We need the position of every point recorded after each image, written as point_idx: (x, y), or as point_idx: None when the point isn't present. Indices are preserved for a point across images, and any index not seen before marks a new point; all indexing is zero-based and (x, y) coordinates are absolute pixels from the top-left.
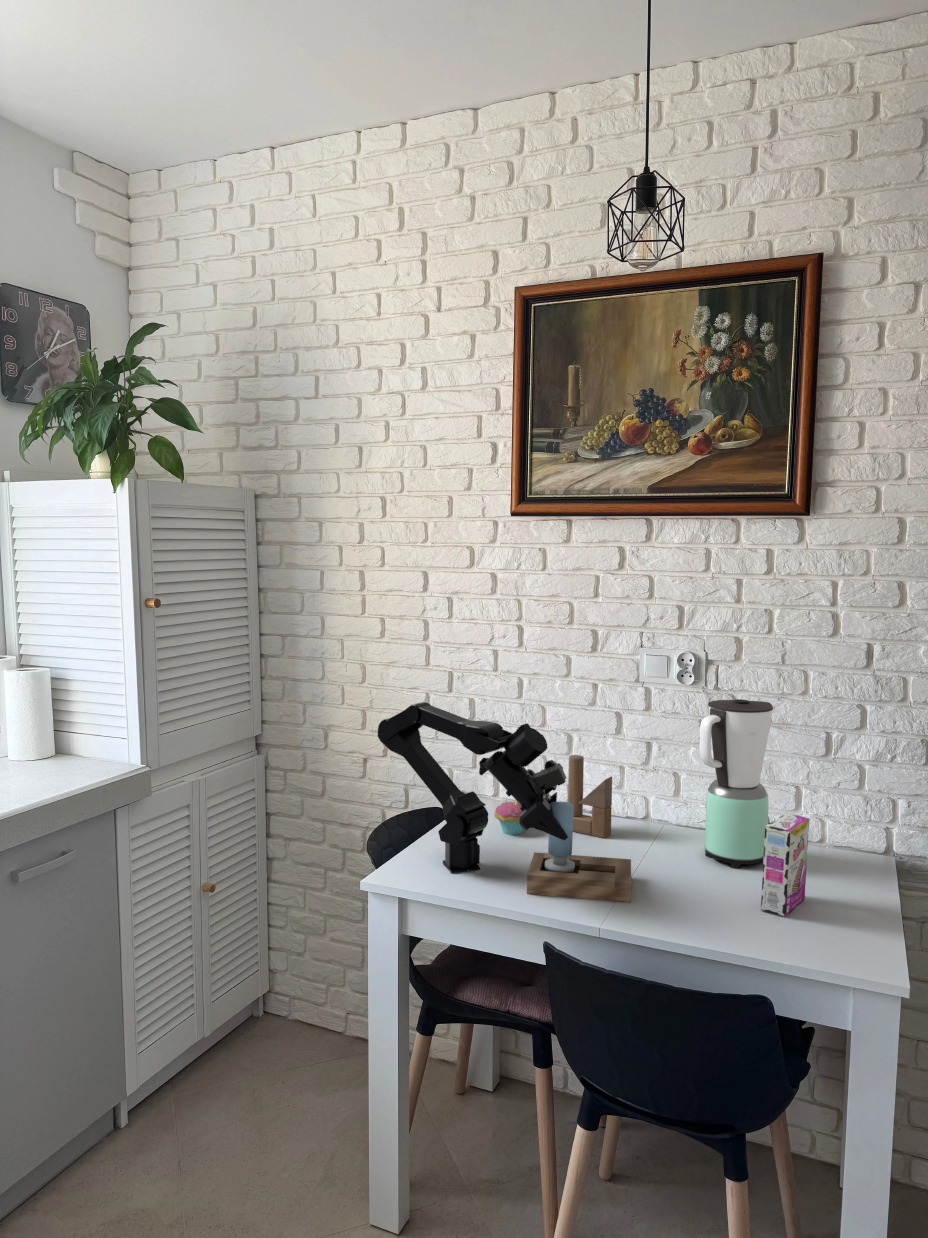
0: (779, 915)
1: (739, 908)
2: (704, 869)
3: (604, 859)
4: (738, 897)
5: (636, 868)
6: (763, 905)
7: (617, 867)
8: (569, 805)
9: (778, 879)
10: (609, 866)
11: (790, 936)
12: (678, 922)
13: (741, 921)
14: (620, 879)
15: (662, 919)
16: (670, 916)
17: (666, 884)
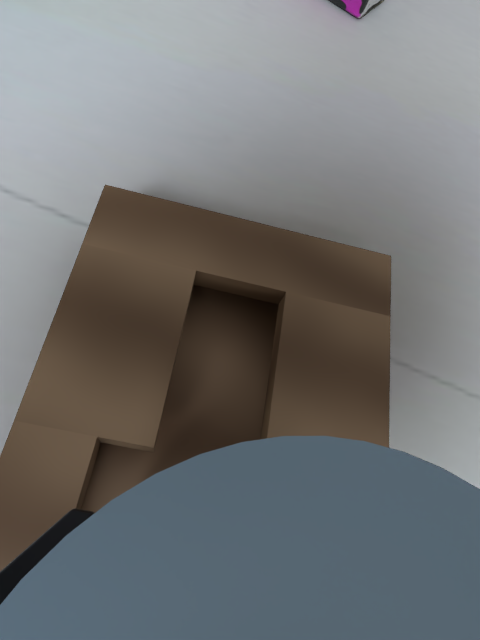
0: (380, 2)
1: (348, 50)
2: (55, 13)
3: (95, 300)
4: (277, 25)
5: (8, 191)
6: (369, 2)
7: (214, 265)
8: (359, 559)
9: None
10: (189, 297)
11: (475, 30)
12: (470, 203)
13: (424, 75)
14: (360, 286)
15: (462, 236)
16: (436, 210)
17: (185, 146)
